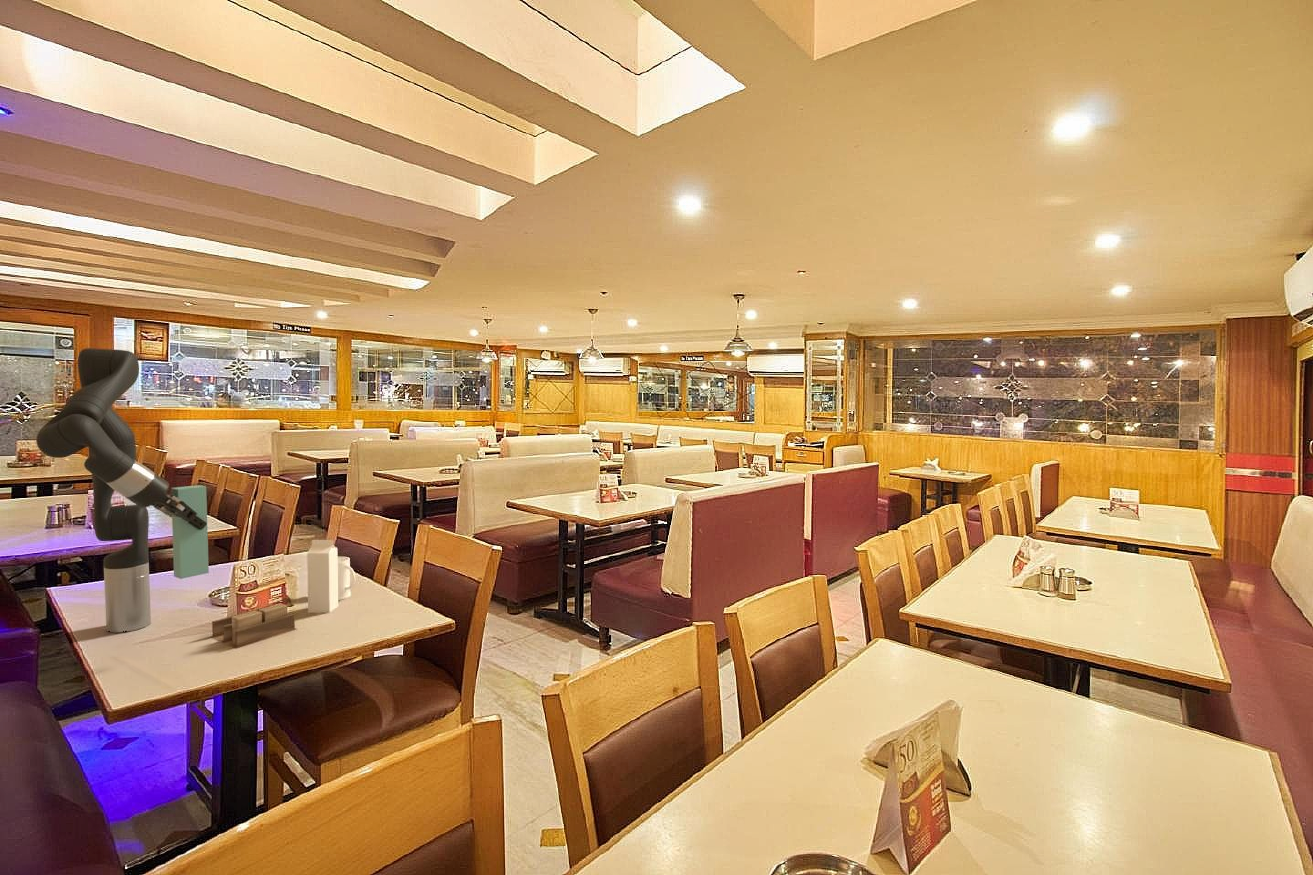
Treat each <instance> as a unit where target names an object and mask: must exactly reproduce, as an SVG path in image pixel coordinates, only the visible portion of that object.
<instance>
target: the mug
mask: <svg viewBox="0 0 1313 875" xmlns="http://www.w3.org/2000/svg"><path fill="white" fill-rule="evenodd" d="M350 559H351V558H350V557H347V556H338V602H339V601H343V600H346V599H349V598H350V597H351V596H352V593H351V589H352V588H353V587H354V586H355V583H356V581H357V580H356V573H355V571H354V569H353V568H352V567H351V561H350ZM351 574H352V578H353V579H352V580H353V581H352V583H351Z"/></svg>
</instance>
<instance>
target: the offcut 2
mask: <svg viewBox="0 0 1313 875" xmlns="http://www.w3.org/2000/svg"><path fill="white" fill-rule="evenodd" d="M269 606H270V607H266V606H265V607H266V608H263V607H261V608H262V609H259V608H258V609H259V612H261V613H262V623H263V622H267V621H270V620H273V619H277V618H280V617H284V616H287V615H288V605H287V604H283V603H277V604H273V605H269Z"/></svg>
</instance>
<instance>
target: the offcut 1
mask: <svg viewBox="0 0 1313 875" xmlns="http://www.w3.org/2000/svg"><path fill="white" fill-rule="evenodd" d="M254 610H255V611H252V610H251V611H252V612H248V611H247V612H248V613H245V612H243V613H244V614H241V613H240V614H241V615H237V614H236V615H237V616H234V615H233V616H234V617H232V640H233V642H234V643H235V631H236V630H240V629H243V628H246V627H250V626H253V625H257V624H260V623H262V613H261V612H259V611H256V609H254Z"/></svg>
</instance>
